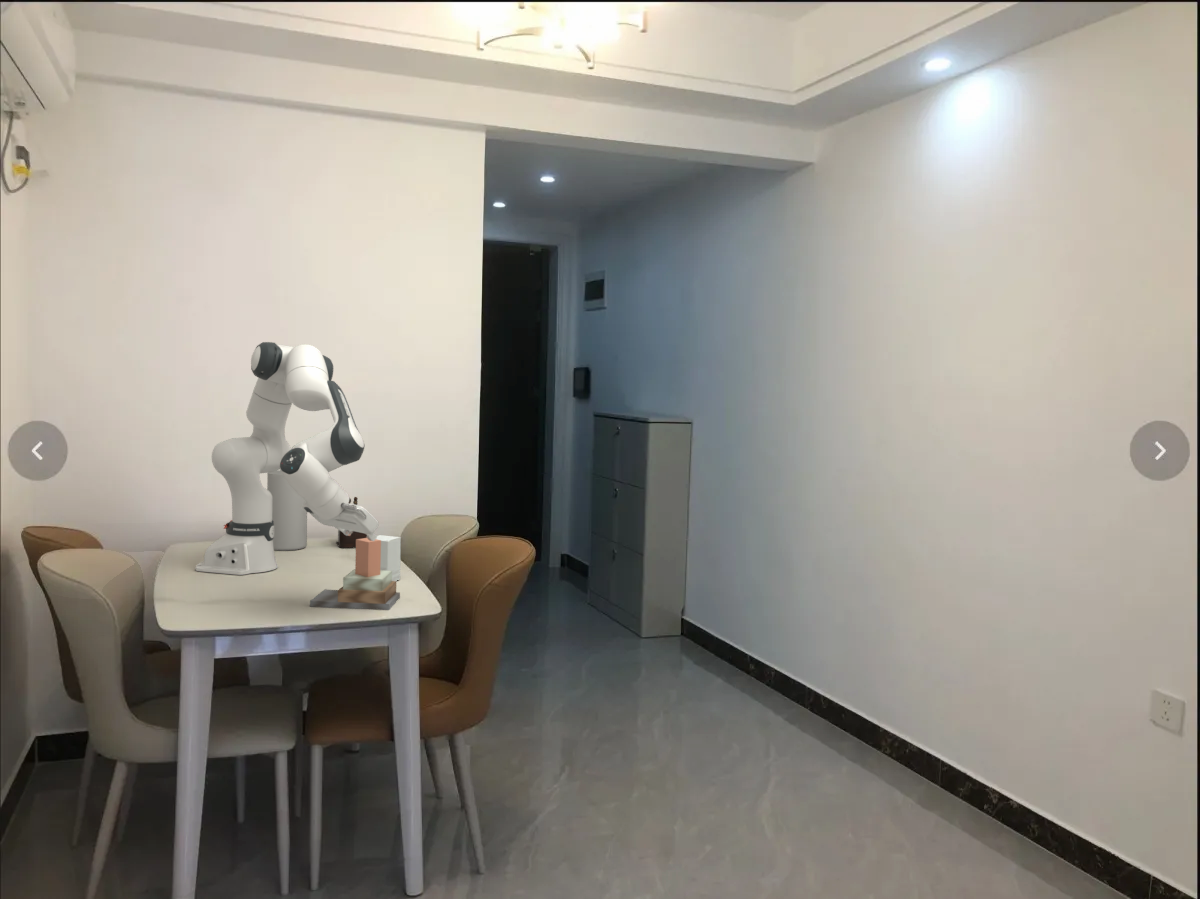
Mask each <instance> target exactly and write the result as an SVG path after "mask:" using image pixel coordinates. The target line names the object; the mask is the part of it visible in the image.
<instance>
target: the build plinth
mask: <svg viewBox="0 0 1200 899" xmlns="http://www.w3.org/2000/svg"><path fill="white" fill-rule="evenodd" d="M398 599H399V600H400V599H401V592H398V591H397V581H392V571H384V570H380V575H376V576H371V577H366V576H362V575H358V574H355V569H353V570H352V571H350V572H349V573H348V574H346V575H345V576H343V578H342V586H341V587H340V588H339V589H327V588H325V589H324V590H322V591H321V592H320V593H318V594H317V595H316V596H315V597H313V598H312V599H310V600H309V607H311V608H312V607H313V608H314V607H315V608H332V609H333V608H335V609H336V608H337V609H338V608H339V609H355V610H356V609H357V610H358V609H361V610H383V611H384V610H385V611H389V610H391V608H393V606H394V605H395V604H396V603H397V602H398V601H399V600H398ZM397 600H398V601H397ZM396 601H397V602H396Z"/></svg>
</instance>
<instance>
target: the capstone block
mask: <svg viewBox="0 0 1200 899" xmlns="http://www.w3.org/2000/svg"><path fill="white" fill-rule="evenodd" d="M380 565H381V540H377V539H375V541H370V540H368V539H367V538H362V539H356V548H355V565H354V566H355V567H354V568H355V574H358V575H362V576H366V577H371V576H376V575H380Z"/></svg>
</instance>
